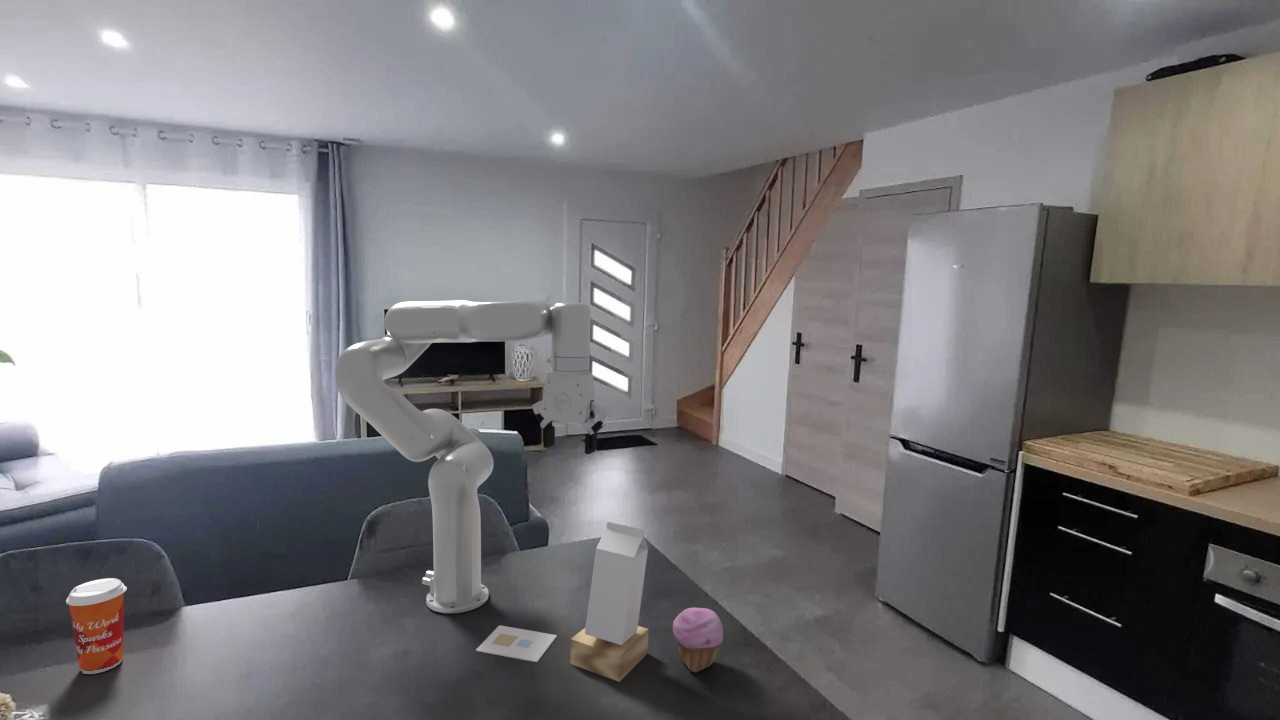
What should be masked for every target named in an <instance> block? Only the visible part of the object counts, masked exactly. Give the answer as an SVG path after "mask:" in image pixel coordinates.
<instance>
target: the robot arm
mask: <svg viewBox="0 0 1280 720" xmlns="http://www.w3.org/2000/svg"><path fill="white" fill-rule="evenodd" d="M383 325H384V328H385V331H386V332H387V333H386V334H385V335H384V336H383V337H382V338H380V339H371V340H366V341H365V340H364V341H360V342H357V343H354V344H352V345H350V346H348V347H346V348H345V349H344V350H343V351H342V352H341V353H340V355H339V356H338V358H337V361H336V363H335V367H334V378H335V384H336V387H337V390H338V393H339V394H340V396H341V398H342V400H344V401H345V402H344V403H346V404H347V405H348V406H349V407H350V408H351V409H352V410H354V412H356V413H357V414H358V415H359V416H360V417H361V418H363V420H365V421H366V422H367V423H368V424H369V425H370V426H371V427H372V428H373V429H375V431H377V432H378V433H379V435H381V436H382V437H383V438H384V439H385V440H386V441H387V442H388V443H389V444H390V445H392V447H394V449H396V451H398V452H399V453H400V454H401V455H402V456H403V457H404V458H406V459H407V460H409V461H412V462H414V463H415V462H416V463H420V462H424V461H427V460H429V459H430V458H432V457H434V456H435V457H436V458H437V460H436V461H435V462H434V464H433V465H432V466H431V469H430V471H429V474H428V481H427V483H428V485H427V486H428V491H429V497H430V501H431V508H432V509H431V511H432V537H433V538H432V539H433V541H432V547H433V548H432V549H433V570H431V569H430V570H429V569H428V570H427V571H426V572H425V575H424V577H423V578H422V579H421V584H423V585H426V586H429V592H428V593H427V594H426V598H425V600H426V601H425V603H426V606H427V607H428V608H429V609H430V610H432V611H433V612H438V613H441V614H460V613H466V612H470V611H472V610H475V609H478V608H479V607H481V606H483V605H484V604H485V603H486V602H487V601H488V599H489V588H488V587H487V586H486V585H484V584H483V583H482V539H481V538H482V527H481V526H482V525H481V521H482V520H481V508H480V502H479V497H478V488H479V487H480V486H481V485H482V484H483V483H484V482H485V481H486V480H487V479H488V478H489V476H491V474H492V472H493V469H494V463H495V462H494V457H493V455H492V452H491V451H490V450H489V447H487V445H486V444H485V443H483V441H481V440H480V439H479V438H478V437H477V436H476V435H475V434H474V433H473V432H472V431H471V430H470V429H469V428H467V427H466V425H464V424H463V423H462V422H461V421H460V420H459V419H458V418H457V417H455V416H454V415H453V414H451V413H450V412H448V411H446V410H444V409H440V408H428V409H425V410H423V411H422V410H421V409H418V407H416V406H415V405H414V404H412V402H410V401H409V400H408V399H407V398H406V396H404V395H403V393H401V392H399V391H398V390H396V389H394V388H393V387H390V386H389V385H388V384H386V383H385V382H384V381H385V380H387V379H390V378H395V377H397V376H399V375H400V374H403V373H404V372H405V371H406V370H407V369H409V367H410V366H412V364H413V363H415V362H416V360H417V359H418V358H419V357H420V356H421V355H422V354H423V353H424V352H425V351H426V350H427V349H428V348H429V347H430V346H431V345H432V344H434V343H436V344H437V343H438V344H440V343H441V344H442V343H468V344H469V343H477V342H478V343H479V342H487V343H488V342H495V343H496V342H524V341H525V342H526V341H531V340H534V339H538V338H543V337H551V349H550V350H551V351H550V352H551V355H550V357H547V358H546V363H547V364H548V365H550V368H551V370H547V373H546V376H545V381H544V387H543V394H542V395H543V396H542V400H540V401H537V402H535V403H534V404H532V406H531V407H532V410H533V413H534V415H535V419H536V420H537V421H538V423H539V424H540V425H539V426H540V428H541V429H542V443H543V445H542V446H543V448H544V449H548V448H550V447H552V446H555V444H556V443H555V442H556V428H555V425H554V423H561V424H569V425H582V426H583V428H584V429H585V431H586V432H587V433H586V434H585V435H584V453H585V455H591V454H593V453H595V452H596V451H597V447H598V433H599V432H600V431H601V429H603V427H604V426H605V425H606V423H607V421H608V419H609V416H610V412H609V411H608V410H606V409H605V408H604V407H602V406H600V405H599V404H597V402H596V387H595V381H594V375H593V373H592V371H591V372H590V352H591V351H590V350H591V348H590V347H591V346H590V345H591V342H590V341H591V308H590V307H589V305H588V304H587V303H584V302H576V301H575V302H574V301H573V302H571V301H568V302H567V301H561V302H553V301H551V302H550V301H545V300H540V299H539V300H538V299H533V300H531V299H530V300H528V299H527V300H516V301H515V300H514V301H513V300H512V301H511V300H509V301H483V302H482V301H481V302H480V301H471V300H468V299H445V300H444V299H443V300H413V301H412V300H411V301H400V302H398V303H396V304H394V305H392V306H391V307H390V308H389V309H388V310H387V311H386V313H385V316H384V322H383ZM596 414H597V415H598V417H599V418H598V420H597V421H596V420H595V419H596Z"/></svg>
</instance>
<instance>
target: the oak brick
mask: <svg viewBox="0 0 1280 720" xmlns="http://www.w3.org/2000/svg"><path fill="white" fill-rule="evenodd" d="M585 628H586V626H585V627H584V628H583V629H581V630H580V631H579V632H578V633H576V634H575V635H574V636H573V637H571V638H570V665H572V666H575V667H577V668H581V669H584V670H586V671H588V672H591V673H594V674H597V675H599V676H602V677H605V678H608V679H611V680H613V681H616V682H618V683H619V682H621V681H622V680H623V679H624V678H625V677H626V676H627V675H628V674H629V673H630V672H631V671H632V670H633V669H634V668H635V667H636V666H637V664H639V663H640V662H642V661H641V660H643V659H644V658H645V657H646V656H647V654H649V653H648V651H649V628H646V627H643V626H640V625H638V628H637V632H636V633H635V634H634V635H633V636H632V637H630V638H629V639H628V640H627V641H626V642H625V643H624V644H623V645H620V644H616V643H613V642H609V641H606V640H603V639H599V638H596V637H593V636H589V635H586V634H585Z"/></svg>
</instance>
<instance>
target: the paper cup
mask: <svg viewBox="0 0 1280 720" xmlns="http://www.w3.org/2000/svg"><path fill="white" fill-rule="evenodd" d="M127 587H128V586H125V584H124V583H123V582H122V581H121V579H118V578H114V577H113V578H112V577H110V578H108V577H107V578H100V579H95V580H90V581H87V582H84V583H81V584H79V585H76V586H75V587H73V589H72V590H71V591H70V593H69V594H68V597H67V598H66V600H65V602H66V604H67V605H68V606H69V615H70V621H71V626H72V633H73V637H74V638H73V639H74V643H75V650H76V651H75V652H76V656H77V661H78V662H77V663H78V667H80V668H79V670H80V669H82V670H85V671H94V670H99V669H104V668H107V667H111V666H113V665H114V664H116V663H118V662H119V661H120V660H121V659H122V658H123V659H124V594H125V592H126V591H127V590H128V588H127Z"/></svg>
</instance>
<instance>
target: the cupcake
mask: <svg viewBox="0 0 1280 720" xmlns="http://www.w3.org/2000/svg"><path fill="white" fill-rule="evenodd" d="M672 633H673V635H674V638H675V640H676V641H677V644H678V651H679V659H680V660H681V662H683V664H684V665H685V666H686V667H687V669H688V670H689V672H692V673H698V672H700V671H703V670H704V669H707V668H709V667H710V666H711V665H712V664H713V663H714V661H715V659H716V657H717V653H718V651H719V647H720V645H721V644H722V642H723V640H724V628H723V622H722V620H721V619H720V617H719V616H718V614H717V613H716V612H715V611H713V610H712V609H710V608H706V607H705V608H704V607H689V608H688V607H687V608H685V609H684V610H682V611H681V612H680V613H679V614H678V615H677V616H676V617H675V619H674V620H673V622H672Z"/></svg>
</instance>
